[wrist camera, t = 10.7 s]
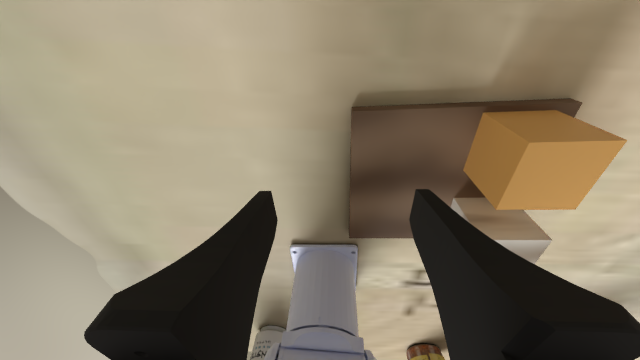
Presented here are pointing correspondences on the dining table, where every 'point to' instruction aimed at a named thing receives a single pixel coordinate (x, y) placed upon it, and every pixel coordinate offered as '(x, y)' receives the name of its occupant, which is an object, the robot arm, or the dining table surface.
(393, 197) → the board
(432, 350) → the sauce bottle
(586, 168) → the kraft paper cube
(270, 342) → the energy drink can
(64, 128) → the dining table surface
